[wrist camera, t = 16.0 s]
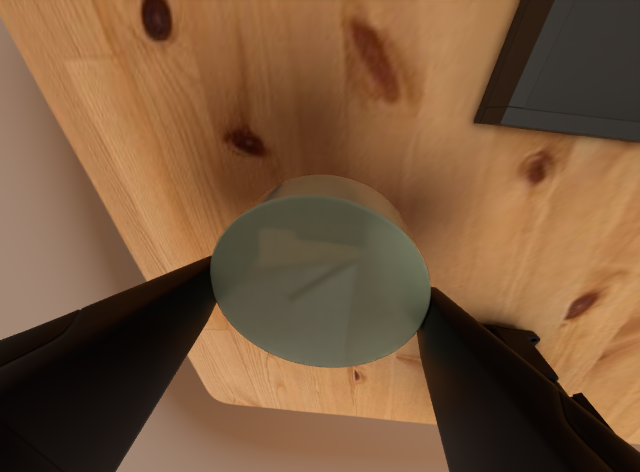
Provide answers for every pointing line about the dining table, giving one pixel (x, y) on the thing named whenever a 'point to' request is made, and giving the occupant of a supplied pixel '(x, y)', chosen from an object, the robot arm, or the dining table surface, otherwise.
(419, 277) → the pale green disc
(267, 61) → the dining table surface
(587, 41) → the tray
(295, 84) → the dining table surface
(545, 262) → the dining table surface
